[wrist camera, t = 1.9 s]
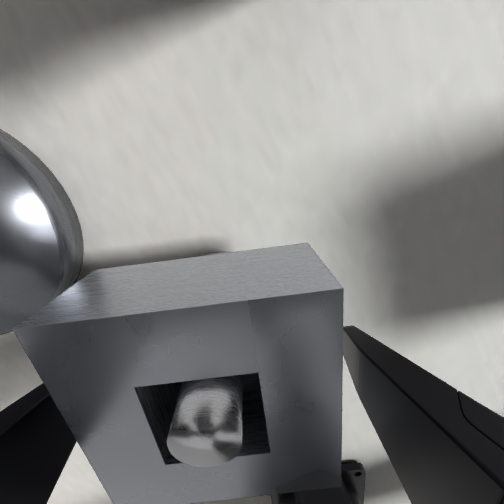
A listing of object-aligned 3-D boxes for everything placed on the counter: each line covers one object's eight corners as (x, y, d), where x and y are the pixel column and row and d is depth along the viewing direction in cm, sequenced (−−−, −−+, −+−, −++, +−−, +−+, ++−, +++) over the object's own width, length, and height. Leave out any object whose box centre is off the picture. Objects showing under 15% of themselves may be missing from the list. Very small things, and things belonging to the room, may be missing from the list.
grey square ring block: (314, 397, 10) (341, 486, 7) (151, 417, 10) (117, 511, 8) (307, 242, 8) (343, 288, 5) (94, 269, 8) (12, 329, 5)
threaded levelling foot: (279, 334, 13) (311, 492, 7) (185, 345, 13) (133, 512, 7) (270, 245, 11) (303, 349, 5) (161, 259, 11) (61, 378, 5)
